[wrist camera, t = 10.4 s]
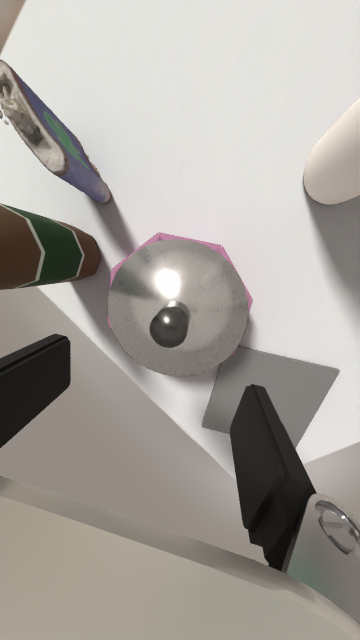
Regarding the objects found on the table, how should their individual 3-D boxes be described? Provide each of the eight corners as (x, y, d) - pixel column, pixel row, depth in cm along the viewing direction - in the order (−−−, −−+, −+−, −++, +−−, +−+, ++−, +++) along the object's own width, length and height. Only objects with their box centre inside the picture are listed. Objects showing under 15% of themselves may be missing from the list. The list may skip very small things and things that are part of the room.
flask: (115, 197, 24) (54, 149, 14) (100, 210, 25) (31, 174, 15) (72, 128, 23) (-33, 16, 12) (57, 144, 23) (-54, 51, 13)
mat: (337, 368, 28) (340, 371, 28) (292, 447, 34) (294, 450, 33) (227, 343, 29) (227, 345, 29) (201, 424, 35) (201, 426, 34)
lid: (266, 257, 19) (295, 253, 13) (224, 384, 25) (231, 420, 19) (117, 226, 20) (83, 211, 14) (107, 356, 25) (80, 383, 20)
